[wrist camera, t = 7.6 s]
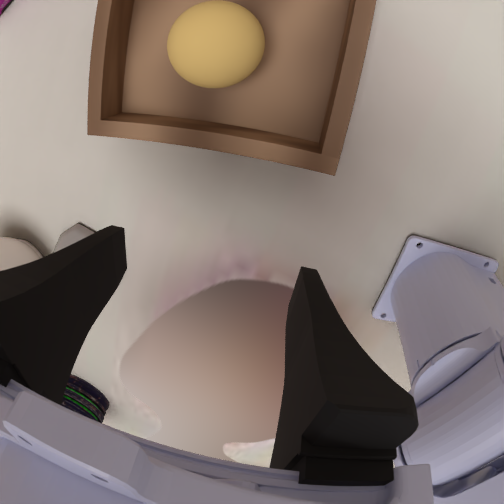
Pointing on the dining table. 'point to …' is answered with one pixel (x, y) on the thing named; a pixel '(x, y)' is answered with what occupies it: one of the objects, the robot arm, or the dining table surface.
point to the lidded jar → (16, 252)
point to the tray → (238, 95)
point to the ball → (215, 44)
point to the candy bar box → (4, 5)
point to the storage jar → (84, 399)
